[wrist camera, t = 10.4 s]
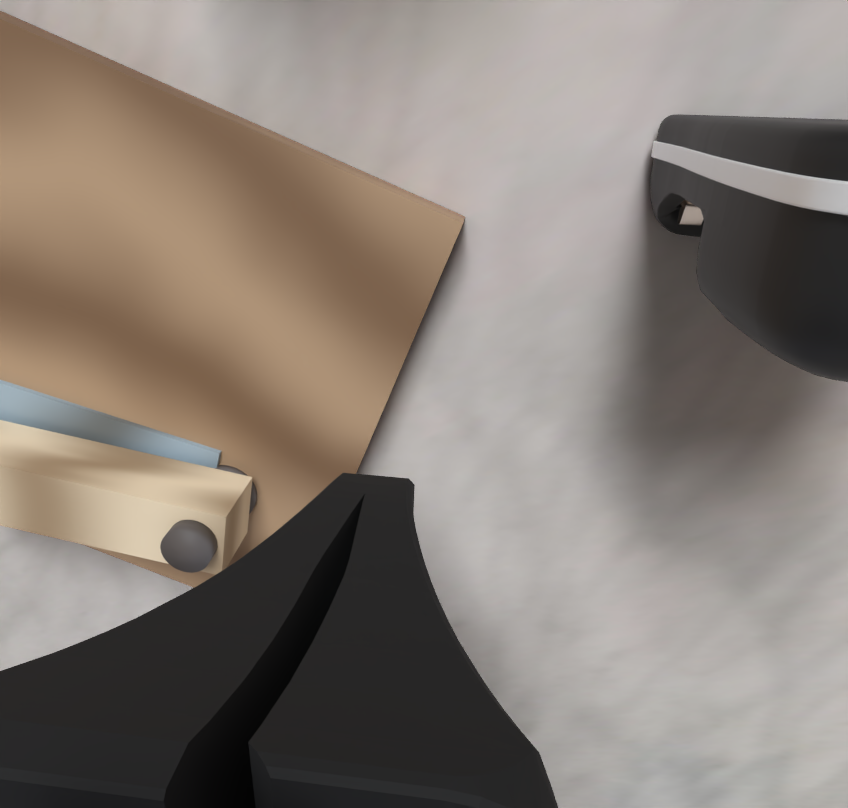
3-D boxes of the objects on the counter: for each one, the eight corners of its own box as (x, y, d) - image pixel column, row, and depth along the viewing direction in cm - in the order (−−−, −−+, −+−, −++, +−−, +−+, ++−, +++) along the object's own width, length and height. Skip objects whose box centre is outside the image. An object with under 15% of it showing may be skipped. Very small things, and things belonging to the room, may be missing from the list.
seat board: (299, 603, 27) (289, 630, 25) (-52, 467, 26) (-82, 487, 24) (465, 217, 20) (462, 224, 18) (-15, 4, 18) (-56, -4, 17)
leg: (252, 477, 22) (218, 528, 20) (247, 532, 23) (214, 588, 21) (-56, 407, 22) (-132, 448, 20) (-47, 465, 23) (-118, 512, 21)
